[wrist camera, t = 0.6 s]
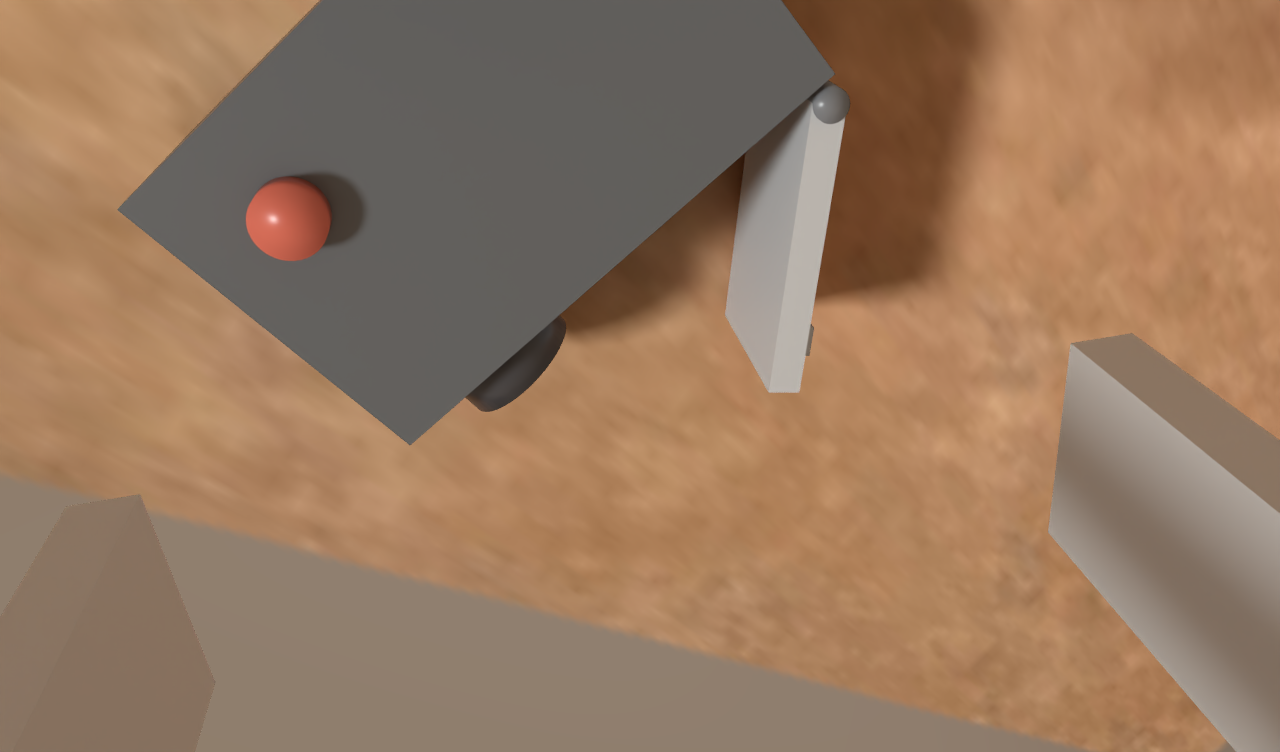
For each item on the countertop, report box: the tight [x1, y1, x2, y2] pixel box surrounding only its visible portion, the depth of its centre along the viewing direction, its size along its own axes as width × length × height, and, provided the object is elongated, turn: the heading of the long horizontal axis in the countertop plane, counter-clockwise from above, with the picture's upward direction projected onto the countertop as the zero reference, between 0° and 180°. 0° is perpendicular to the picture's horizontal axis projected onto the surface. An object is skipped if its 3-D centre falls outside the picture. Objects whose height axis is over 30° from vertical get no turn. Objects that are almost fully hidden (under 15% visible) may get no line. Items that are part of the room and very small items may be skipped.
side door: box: [725, 80, 850, 392], centre depth 33 cm, size 2×10×6 cm, turn 176°
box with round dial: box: [117, 0, 835, 445], centre depth 29 cm, size 12×16×8 cm
